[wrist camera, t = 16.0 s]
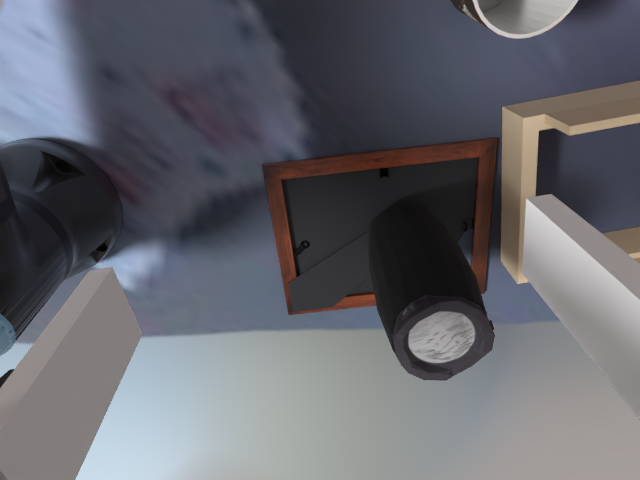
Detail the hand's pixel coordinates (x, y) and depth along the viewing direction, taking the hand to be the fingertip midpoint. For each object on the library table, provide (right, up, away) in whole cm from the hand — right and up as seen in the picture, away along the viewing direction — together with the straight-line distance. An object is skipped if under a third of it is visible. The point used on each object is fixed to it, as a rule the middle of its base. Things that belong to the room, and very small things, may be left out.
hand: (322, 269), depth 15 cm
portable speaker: (+9, +2, +38) cm, 39 cm away
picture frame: (+7, +2, +40) cm, 41 cm away
